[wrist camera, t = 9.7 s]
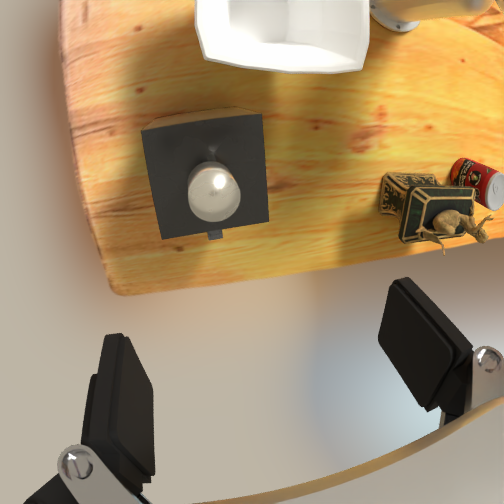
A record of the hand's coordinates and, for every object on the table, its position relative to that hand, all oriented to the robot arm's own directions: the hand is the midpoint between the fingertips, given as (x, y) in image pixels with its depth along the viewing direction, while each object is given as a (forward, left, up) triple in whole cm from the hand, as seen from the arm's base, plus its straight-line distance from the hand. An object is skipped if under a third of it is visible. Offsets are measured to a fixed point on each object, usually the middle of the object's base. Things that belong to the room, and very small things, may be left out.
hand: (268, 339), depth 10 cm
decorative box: (+11, +35, -38) cm, 52 cm away
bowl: (-19, +10, -38) cm, 43 cm away
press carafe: (+1, 0, -37) cm, 37 cm away
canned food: (+8, +52, -38) cm, 64 cm away
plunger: (0, 0, -36) cm, 36 cm away
